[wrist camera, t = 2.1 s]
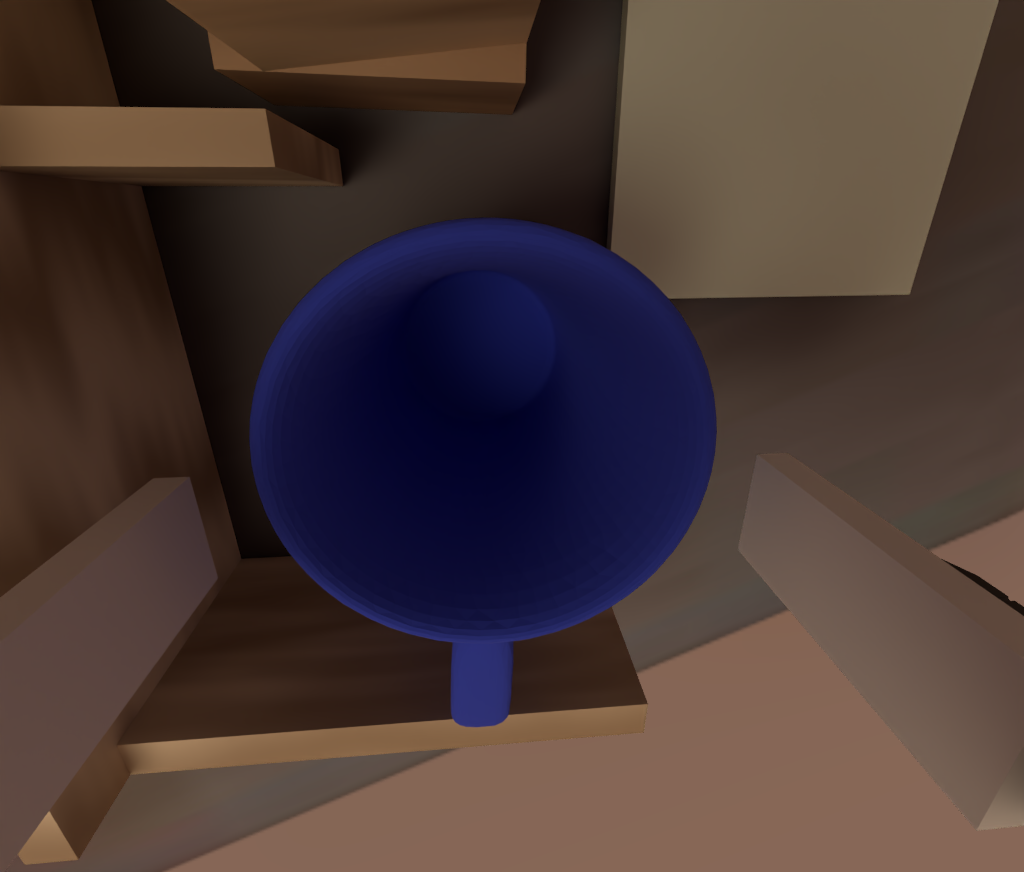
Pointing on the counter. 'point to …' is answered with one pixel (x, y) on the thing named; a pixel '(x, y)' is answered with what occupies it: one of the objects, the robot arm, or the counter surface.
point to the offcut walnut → (391, 80)
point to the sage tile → (786, 140)
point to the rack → (196, 453)
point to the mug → (482, 438)
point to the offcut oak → (357, 27)
